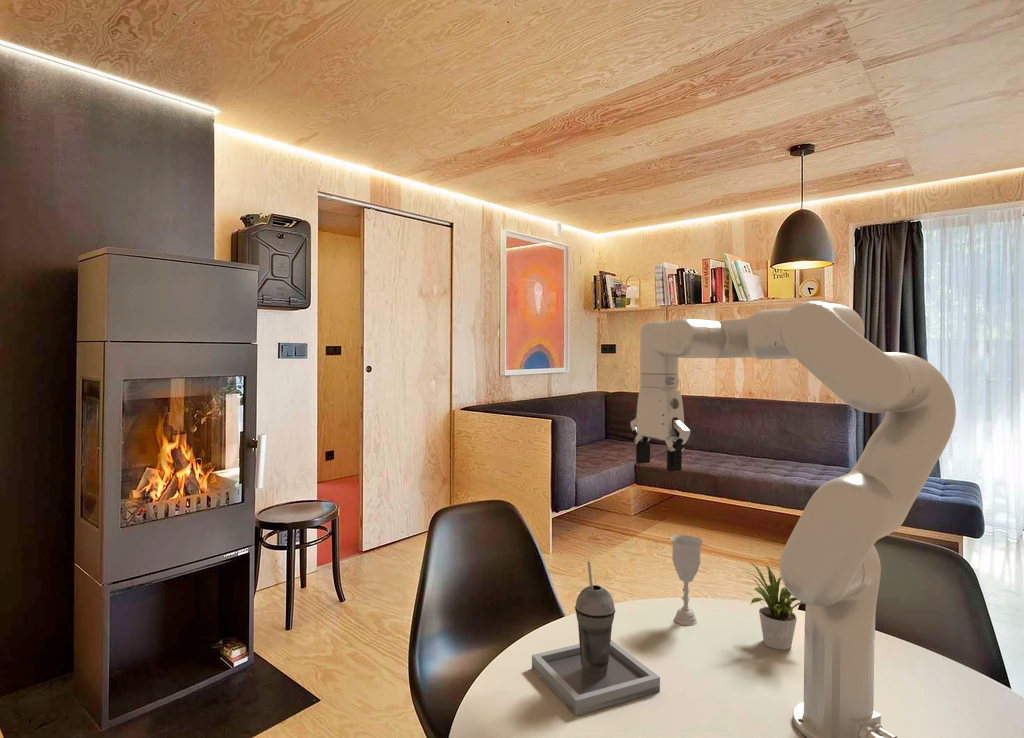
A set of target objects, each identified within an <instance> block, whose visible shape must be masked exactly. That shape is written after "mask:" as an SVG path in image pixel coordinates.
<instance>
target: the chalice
mask: <svg viewBox="0 0 1024 738" xmlns="http://www.w3.org/2000/svg"><path fill="white" fill-rule="evenodd" d="M670 541H671V543H672V562H673V566H674V568H675V571H676V573H677V576H678V578H679V580H680V581H682V582H683V588H682V592H683V596H682V597H681V599H682V600H683V605H682V607H679V608H678V609H677V611H676V614H675V616H674V617H673V620H674V621H675V622H676V623H677V622H678V623H677V624H679V623H680V625H683V626H694V625H695V626H696V625H697V624H698V622H697V621H698V619H697V616H696V615H695V612H694V610H693V609H692V608H690V606H689V601H691V598H690V597H689V592H690V589H689V584H690V583H691V582H693V581H694V578H695V576H697V573H698V571H699V568H700V566H701V552H702V551H701V546H702V545H703V543H704V541H703V540H702V539H701V538H698V537H696V536H692V535H687V534H685V535H684V534H683V535H682V534H678V535H672V536H671V537H670Z"/></svg>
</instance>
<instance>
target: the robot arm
mask: <svg viewBox="0 0 1024 738" xmlns="http://www.w3.org/2000/svg"><path fill="white" fill-rule="evenodd" d="M639 340H640V341H639V342H640V343H639V344H640V345H639V347H640V348H639V349H640V351H639V355H640V356H639V359H640V360H639V373H640V374H639V391H638V396H637V404H636V416H635V418H634V419H632V420H631V421H630V428H631V431H632V436H633V438H634V444H635V445H636V446H635V447H636V448H635V462H636V464H648V463H650V462H651V444H650V443H649V442H650V441H651V439H654V440H659V441H664V442H665V444H666V445H667V448H668V450H667V451H666V471H667V472H670V473H671V472H680V471H682V467H683V466H682V463H683V462H682V460H683V457H682V456H683V454H682V453H683V452H684V451H685V446H686V445H687V444H688V440H689V437H690V435H691V430H690V429H689V428H688V427H687V426H686V425H685V414H684V404H683V403H684V402H683V398H682V392H681V390H679V358H680V359H737V358H739V359H740V358H753V359H756V360H785V359H786V360H797V361H798V363H800V364H801V365H802V366H803V367H804V368H805V369H806V370H807V371H808V372H809V373H811V374H812V375H813V376H814V377H815V378H816V379H818V381H820V383H822V384H823V385H824V386H825V387H826V388H828V389H829V390H830V391H831V392H832V393H833V394H834V395H836V396H837V398H839V399H840V400H841V401H842V402H844V403H845V404H847V405H848V406H850V407H852V408H853V409H855V410H858V411H860V412H864V413H870V414H871V413H872V414H883V413H884V417H883V419H882V421H881V422H880V424H879V425H878V427H877V428H876V429H875V431H874V432H873V433H872V435H871V436H870V438H869V439H868V441H867V443H866V445H865V447H864V450H863V452H862V453H861V455H860V457H859V458H858V460H857V462H856V464H854V466H853V468H852V469H851V470H850V471H849V472H848V473H846V474H845V475H842V476H838V477H836V478H832V479H830V480H828V481H826V482H825V483H823V484H822V485H821V486H820V487H818V489H817V490H816V491H815V492H814V493H813V494H812V495H811V497H810V498H809V500H808V502H807V504H806V506H805V507H804V509H803V511H802V512H801V515H800V517H799V519H798V521H797V523H796V524H795V526H794V528H793V530H792V532H791V534H790V535H789V538H788V539H787V541H786V543H785V546H784V548H783V550H782V552H781V556H780V559H779V560H780V561H779V575H780V577H781V580H782V582H783V585H784V587H786V588H787V590H788V591H789V592H790V593H791V594H792V595H791V596H792V597H793V598H794V597H795V598H796V599H798V600H797V601H799V602H803V603H804V604H805V611H804V647H803V648H804V650H803V651H804V653H803V655H804V656H803V657H804V658H803V701H801V702H799V703H797V704H796V705H795V706H794V707H793V710H792V720H793V724H794V725H795V728H797V730H798V731H799V732H800V734H803V736H804V737H806V738H899V737H898V736H897V735H895V734H894V733H892V732H891V731H889V730H886V729H885V728H883V725H881V720H882V718H881V716H882V715H881V713H879V712H877V711H874V706H875V705H874V702H875V701H874V700H875V699H874V696H875V695H874V694H875V693H874V691H875V689H874V688H875V687H874V686H875V640H876V614H877V613H876V612H877V602H878V598H879V597H878V595H879V590H880V583H881V572H882V565H881V560H880V555H879V552H878V550H877V548H876V547H875V544H876V542H877V541H878V540H880V539H882V538H884V537H887V536H889V535H890V534H892V533H895V532H896V531H897V530H899V528H900V527H901V526H902V525H903V523H904V521H906V519H907V516H908V514H909V512H910V511H911V509H912V507H913V505H914V503H915V501H916V500H917V498H918V496H919V495H920V493H921V491H922V489H923V488H924V486H925V484H926V483H927V481H928V479H929V477H930V474H931V473H932V471H933V470H934V468H935V466H936V464H937V462H939V459H940V457H941V455H942V454H943V452H944V450H945V448H946V447H947V445H948V443H949V440H950V439H951V436H952V433H953V431H954V427H955V423H956V416H957V408H956V407H957V406H956V399H955V396H954V393H953V390H952V388H951V385H950V384H949V383H948V381H947V379H946V378H945V377H944V376H943V374H942V373H941V372H940V371H939V370H938V369H937V368H936V367H935V366H934V365H932V364H931V363H930V362H929V361H927V360H926V359H923V358H921V357H919V356H918V355H914V354H910V353H906V352H895V351H891V352H889V351H888V352H887V351H885V352H884V351H882V350H881V349H880V348H879V347H877V346H876V345H875V344H873V342H870V341H869V340H868V339H867V338H865V323H864V321H863V319H862V318H861V316H860V315H859V313H857V311H855V310H854V309H852V308H850V307H848V306H846V305H843V304H839V303H830V302H824V301H818V300H817V301H806V302H805V301H804V302H802V303H799V304H797V305H795V306H794V307H793V306H792V307H788V308H775V309H774V308H773V309H762V310H758V311H755V312H754V313H753V314H752V315H751V317H747V318H738V319H726V320H722V319H721V320H708V319H697V318H696V319H695V318H677V319H673V320H669V321H651V322H650V321H649V322H645V323H643V324H642V325H641V327H640V339H639Z"/></svg>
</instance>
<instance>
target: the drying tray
mask: <svg viewBox="0 0 1024 738" xmlns="http://www.w3.org/2000/svg"><path fill="white" fill-rule="evenodd" d="M531 669H532V670H533V671H534V672H535V673H536V674H537V676H538V677H539V678H540V679H541V680H542V681H543V682H544V683H545V684H546V685H547V686H548V687H549V689H551V690H552V692H553V693H554V694H555V695H556V696H557V697H558V698H559V699H560V701H562V702H563V703H564V704H565V706H566V707H567V708H568V709H569V710H570V711H571V712H572V713H573V714H574V716H576V717H577V716H581V715H585V714H588V713H591V712H595V711H598V710H602V709H605V708H609V707H611V706H616V705H618V704H622V703H626V702H627V701H628V702H629V701H632V700H635V699H639V698H642V697H646V696H650V695H652V694H655V693H659V692H661V677H660V676H659V675H658V674H657V673H655V672H654V671H653V670H651V669H650V668H649V667H648V666H646V665H645V664H643V663H642V662H640V661H639V660H638V659H637V658H636V657H634V656H633V655H632V654H630V653H629V652H628V651H627V650H625V649H624V648H623V647H621V646H620V645H618V644H617V642H615V641H613V640H612V639H611V642H610V652H609V663H608V669H607V675H606V676H605V677H604V678H601V679H592V678H588V677H586V676H585V675H584V674H583V673H582V665H581V655H580V643H578V644H573V645H569V646H565V647H560V648H557V649H551V650H548V651H544V652H539V653H534V654H532V655H531Z"/></svg>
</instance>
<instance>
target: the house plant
mask: <svg viewBox="0 0 1024 738" xmlns="http://www.w3.org/2000/svg"><path fill="white" fill-rule="evenodd" d="M744 561H746V562H747V563H749V564H751V566H752V567H754V568H755V570H756V571H757V574H758V575H759V577H760V578H758V577H757V575H754V574H752V573H749V572H745V571H743V572H741V573H744V574H748V576H747V575H746V577H747V578H751V579H752V580H753V581H754V582H755V583H756V584H757V586H756V587H754V588H753V591H756V592H757V593H758V594H760V595H761V596H762V598H761V597H754V595H753V594H751V593H749V592H746V594H747V595H748V594H749V595H751V596H752V597H754V598H752V599H751V602H750V605H753V604H755V603H758V602H760V603H761V601H764V602H765V603H766V604H767V606H765V604H762V606H763V607H760V608H759V610H758V614H759V620H760V627H761V632H762V633H761V634H762V639H763V643H764V645H766V646H768V647H769V648H772V649H774V650H778V649H780V650H779V651H786V649H788V650H790V649H791V648H792V645H793V639H794V635H795V629H796V625H797V615H796V614H795V613H794V612H793V610H794V608H796V607H797V606H800V605H803V604H805V603H803V602H801V601H799V600H798V599H796V598H795V597H794V596H793V595H792V594H791V593H790V592H789V591H788V590H787V588H786V587H785V586H784V587H781V589H780V583H781V580H782V578H781V574H779V576H778V579H777V580H776V577H775V574H774V572H773V571H772V570H771V568H770V567H769V565H768V564H767V563H765V564H764V565H765V568H766V569H767V575H768V580H769V584H768V583H767V582H766V580H765V578H764V575H763V573H762V571H761V570H760V569H759V568H758V566H757V565H755V564H754V563H752V562H751V561H748V560H744ZM749 575H751V576H753V577H755V578H756V579H757V580H758V581H759V582H760V583H761V585H762V586H763V587H761V586H760V585H759V583H758V582H757V580H755V579H754V578H753V577H751V576H749ZM779 590H780V591H779ZM779 592H780V593H779ZM791 596H793V597H791ZM795 601H799V602H798V603H796V604H794V605H793V606H791V605H792V603H793V602H795ZM781 649H782V650H781Z"/></svg>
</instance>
